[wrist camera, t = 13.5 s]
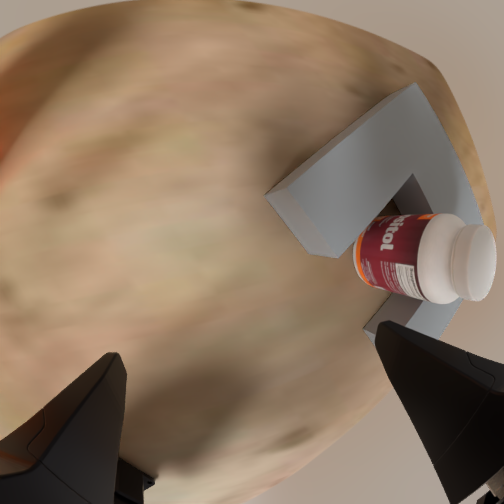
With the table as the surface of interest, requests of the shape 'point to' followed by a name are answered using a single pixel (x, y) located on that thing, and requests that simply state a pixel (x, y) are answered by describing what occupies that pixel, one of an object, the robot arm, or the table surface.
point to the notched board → (379, 191)
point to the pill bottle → (427, 257)
